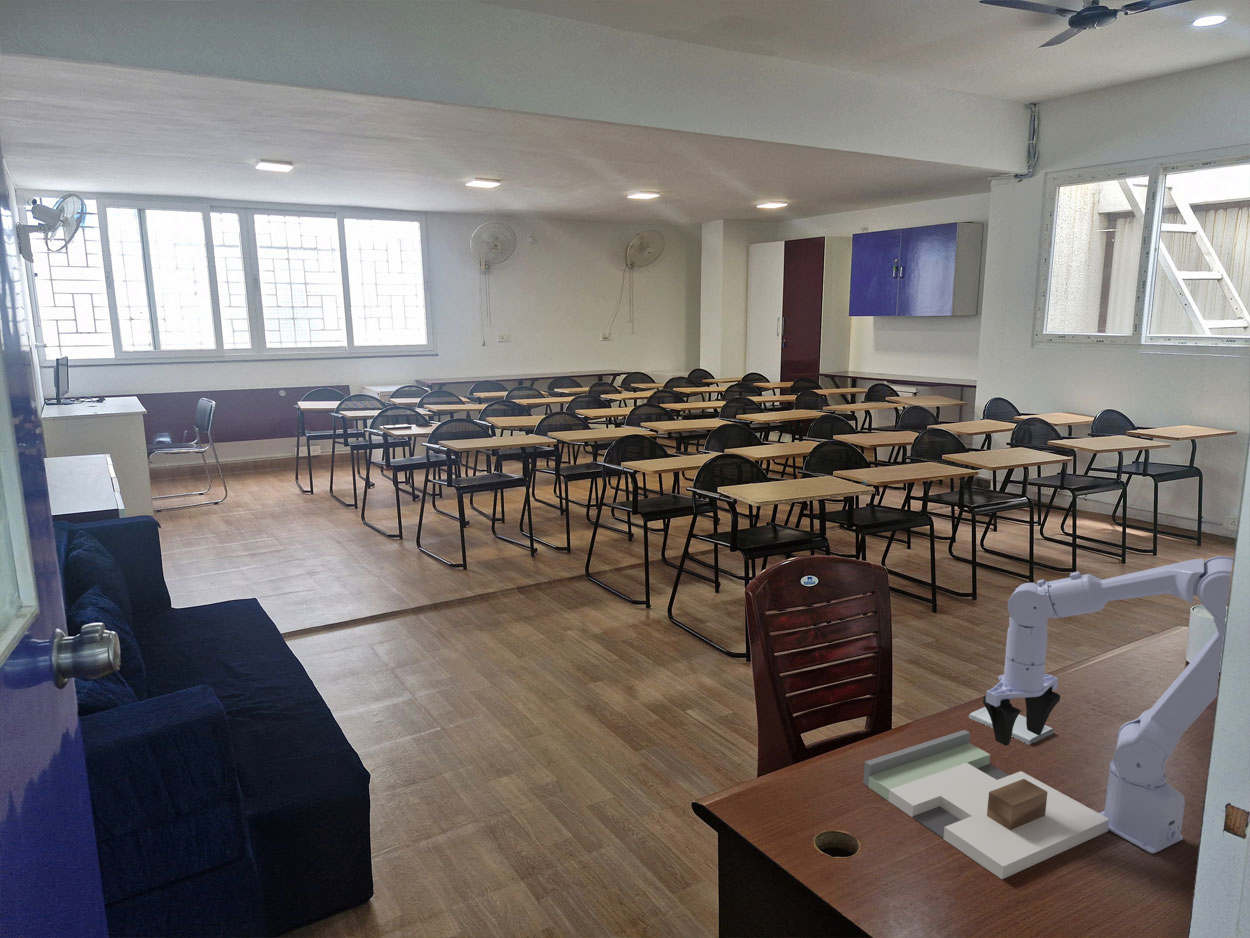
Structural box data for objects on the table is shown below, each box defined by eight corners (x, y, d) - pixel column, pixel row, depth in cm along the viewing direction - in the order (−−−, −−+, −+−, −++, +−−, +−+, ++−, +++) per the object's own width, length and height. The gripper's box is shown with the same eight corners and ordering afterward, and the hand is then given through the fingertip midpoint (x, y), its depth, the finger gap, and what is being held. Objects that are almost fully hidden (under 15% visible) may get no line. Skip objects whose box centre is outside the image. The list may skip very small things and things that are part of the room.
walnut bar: (1045, 815, 122) (1047, 791, 121) (1009, 830, 118) (1012, 805, 117) (1021, 802, 125) (1023, 778, 125) (986, 815, 122) (989, 791, 121)
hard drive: (1054, 727, 151) (993, 702, 161) (1030, 739, 146) (969, 712, 157) (1053, 736, 151) (992, 709, 161) (1029, 748, 147) (968, 720, 157)
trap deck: (1108, 831, 121) (1111, 807, 121) (1001, 879, 110) (1004, 853, 110) (962, 750, 145) (964, 729, 144) (863, 783, 134) (864, 761, 133)
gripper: (1033, 642, 134) (1026, 717, 137) (972, 657, 128) (966, 736, 130) (1072, 657, 128) (1064, 735, 130) (1010, 673, 122) (1003, 756, 124)
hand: (1018, 737), depth 130 cm, fingers open, 7 cm apart
